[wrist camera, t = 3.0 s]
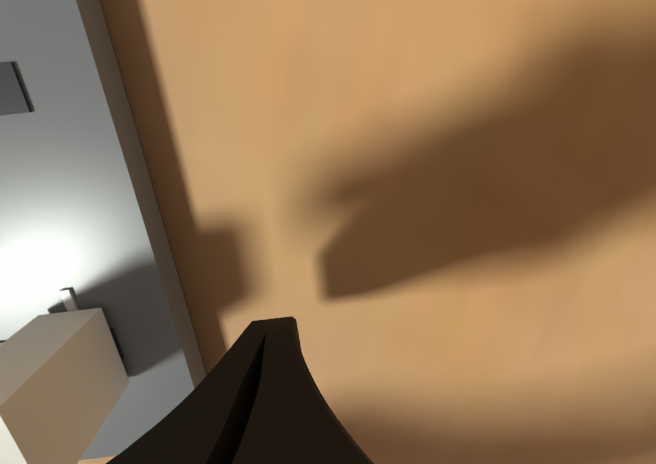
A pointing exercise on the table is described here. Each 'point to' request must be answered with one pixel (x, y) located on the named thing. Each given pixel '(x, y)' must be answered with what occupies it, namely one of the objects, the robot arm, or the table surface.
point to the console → (86, 210)
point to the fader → (57, 387)
